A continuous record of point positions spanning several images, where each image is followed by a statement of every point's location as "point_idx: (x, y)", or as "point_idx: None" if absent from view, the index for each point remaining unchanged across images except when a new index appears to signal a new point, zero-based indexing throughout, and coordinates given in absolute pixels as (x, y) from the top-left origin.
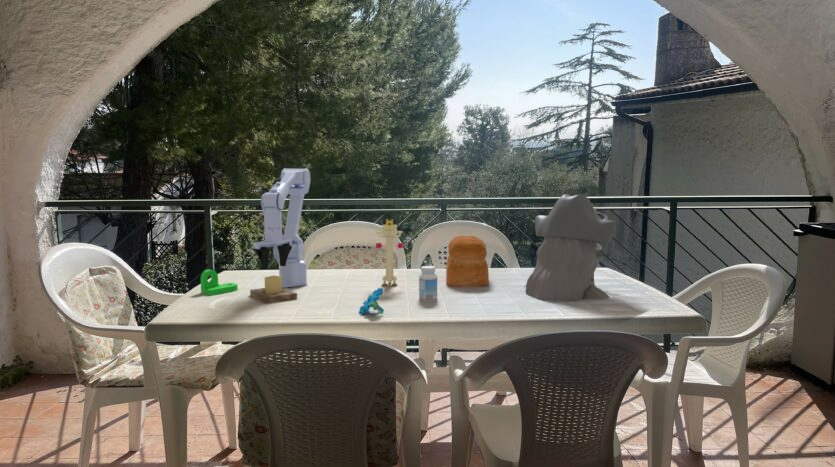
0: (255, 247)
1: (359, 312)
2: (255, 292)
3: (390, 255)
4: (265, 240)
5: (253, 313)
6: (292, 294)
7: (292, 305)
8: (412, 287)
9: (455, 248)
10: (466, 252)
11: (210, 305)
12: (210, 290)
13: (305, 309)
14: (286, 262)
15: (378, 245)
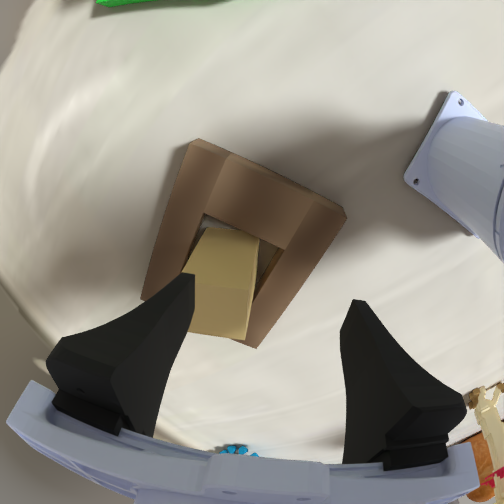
0: (34, 398)
1: (228, 447)
2: (165, 212)
3: (492, 458)
4: (135, 501)
5: (80, 316)
6: (239, 341)
7: (191, 354)
8: (464, 419)
9: (479, 492)
10: (467, 494)
11: (32, 156)
12: (97, 2)
13: (186, 387)
14: (495, 236)
15: (497, 476)
